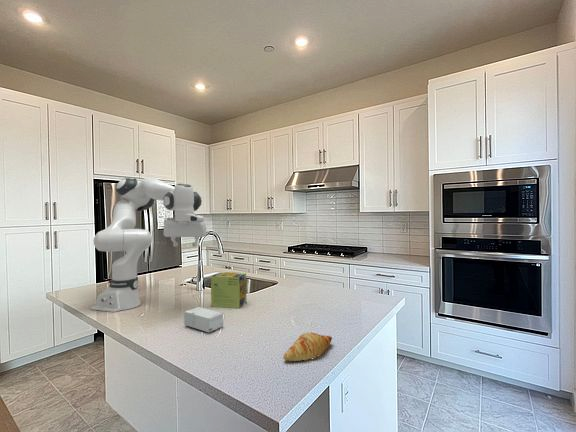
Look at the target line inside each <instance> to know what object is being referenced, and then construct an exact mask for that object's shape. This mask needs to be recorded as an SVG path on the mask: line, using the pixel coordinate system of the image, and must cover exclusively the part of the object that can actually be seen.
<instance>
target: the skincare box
mask: <svg viewBox="0 0 576 432" xmlns="http://www.w3.org/2000/svg"><path fill="white" fill-rule="evenodd" d="M183 316H184V318H183V321H184V322H183V324H184V326H187V327H189V326H190V328H193V329H197V330H200V331H203V332H206V333H211V332H213V331H216V330H218V329H220V328H222V327H224V313H223V312H220V311H216V310H212V309H208V308H204V307H201V306H197V307H195V308H192V309H188V310H186V311H184V313H183Z"/></svg>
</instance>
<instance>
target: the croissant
mask: <svg viewBox="0 0 576 432" xmlns="http://www.w3.org/2000/svg"><path fill="white" fill-rule="evenodd" d="M332 340H333V337H332V336H331V335H324V334H318V333H314V332H305V333H302V334H300V336H299V337H298V338H297V339H296V340H295V341H294V342H293V345H292V346H290V347H289V348H288V349H287V351H286V352H285V353H284V354H283V360H284V361H287V362H303V361H302V360H304V361H309V360H308V359H311V360H315V359H316V358H318V357H319V356H318V355H320V356H321V355H323V354H324V353H325V351H326V350H327V349H328V347H330V346H331V343H332ZM322 353H323V354H322ZM317 356H318V357H317ZM312 358H313V359H312Z"/></svg>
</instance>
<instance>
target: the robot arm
mask: <svg viewBox="0 0 576 432" xmlns="http://www.w3.org/2000/svg"><path fill="white" fill-rule="evenodd" d="M115 192H117V194H118V195H119V196H121V197H122V198H124V199H122V200H119V201H117V202H116V203H115V206H114V209H113V212H112V221H111V224H110V225H108V226H107V227H106V228H105V229H102V230H100V231H98V232H96V234H94V238H93V245H94V247H95V249H96V250H97V251H98V252H105V253H106V252H107V253H110V252H111V253H113V252H125V254H124V256H122V257H120V258H117V259H116V260H114V261H113V262H112V265H111V279H110V280H107V282H106V284H108V287H107V288H105V289H104V290H103V291H102V292H101V293H99V294H98V296H97V298H96V302H95V303H94V304H93V305H91V307H90V310H93V311H94V310H95V311H100V312H111V313H115V312H121V311H125V310H130V309H134V308H137V307H139V306H141V305H142V301H141V299H140V294H139V289H138V288H139V277H138V262H139V259H140V257H141V255H142V254H143V253H144V252H145V250H147V249H148V248H150V246H151V245H152V242H153V236H152V234H151V232H150V231H149V230H147V229H144V228H136V225H137V217H136V216H137V214H136V212H142V211H146V210H149V209H150V208H151V207H153V205H154V204H155V200H156V201H163V206H164V208H166V210H168V211H170V212H171V211H174V217H167V218H165V219H164V220H163V232H162V233H163V236H164V237H165V238H170V240H171V242H172V243H173V247H178V246H179V242H177V241H176V238H194V242H192V243H191V244H192V245H191V246H192V248H193V247H197V246H198V244H197V243H198V241H199V240H200V238H204V237H206V236H207V225H206V222H205V216H203V215H199V214H196V213H195V212H196V211H197V210H198V209H200V207H201V205H202V197H201V195H200V194H199V193H198V192H197V191H194V189H193V186H192V185H190V184H187V183H177V184H175V186H173V185H171V184H170V183H167V182H164V181H162V180H160V179H158V178H155V177H152V176H151V177H149V176H148V177H144V178H143V179H141V181H138V180H137V179H136V178H129V177H128V178H127V177H125V178H122V179H121V180H119V181H118V183H117V184H116V185H115Z"/></svg>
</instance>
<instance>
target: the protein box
mask: <svg viewBox="0 0 576 432" xmlns="http://www.w3.org/2000/svg"><path fill="white" fill-rule="evenodd" d="M246 303H247V272H233V271H230V272H227V271H219V272H217V273H215V274H212V275H210V306H211V307H214V308H215V307H216V308H217V307H218V308H229V309H230V308H231V309H240V308H241V307H243V306H244V305H245V304H246Z"/></svg>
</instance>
